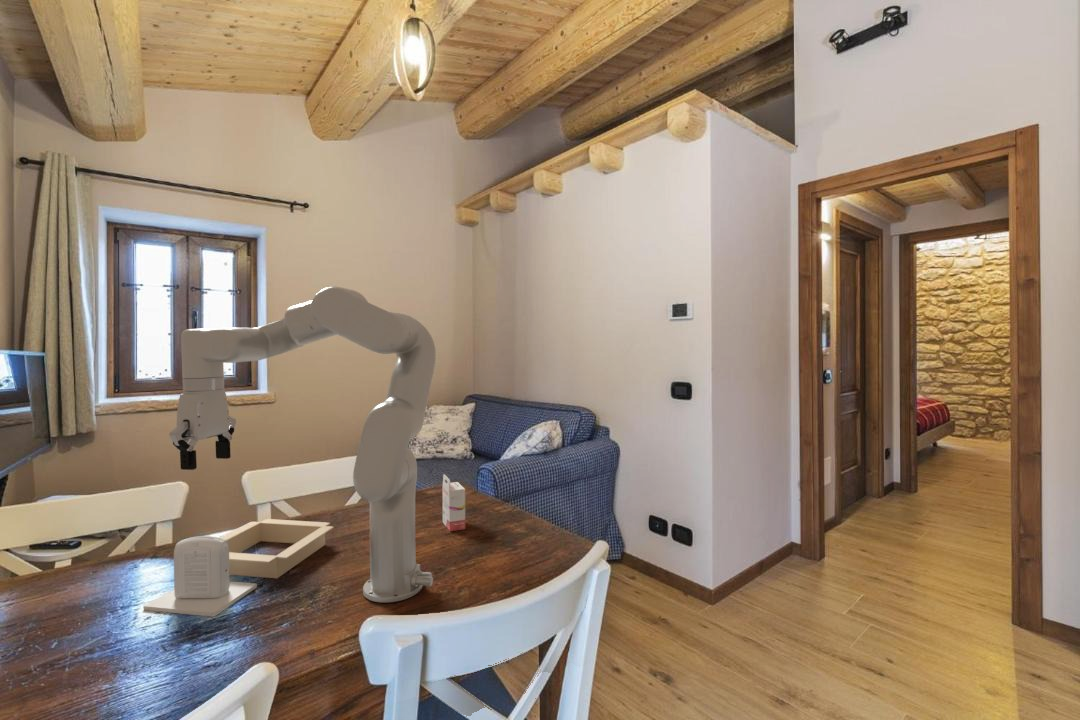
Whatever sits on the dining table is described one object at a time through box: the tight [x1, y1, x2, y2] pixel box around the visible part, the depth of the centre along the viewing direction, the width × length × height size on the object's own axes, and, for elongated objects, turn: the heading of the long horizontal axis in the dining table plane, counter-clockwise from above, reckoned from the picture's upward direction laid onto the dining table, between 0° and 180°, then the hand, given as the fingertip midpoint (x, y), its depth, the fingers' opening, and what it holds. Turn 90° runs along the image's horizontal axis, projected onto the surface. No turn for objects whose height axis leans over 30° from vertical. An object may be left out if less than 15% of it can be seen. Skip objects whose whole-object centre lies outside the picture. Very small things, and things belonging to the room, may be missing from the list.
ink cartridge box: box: [442, 473, 466, 532], centre depth 148 cm, size 9×5×15 cm, turn 25°
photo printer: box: [173, 535, 231, 598], centre depth 107 cm, size 10×4×12 cm, turn 93°
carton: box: [218, 518, 335, 579], centre depth 127 cm, size 24×24×5 cm
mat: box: [143, 581, 258, 618], centre depth 107 cm, size 16×12×1 cm
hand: (206, 463), depth 111 cm, fingers open, 9 cm apart
